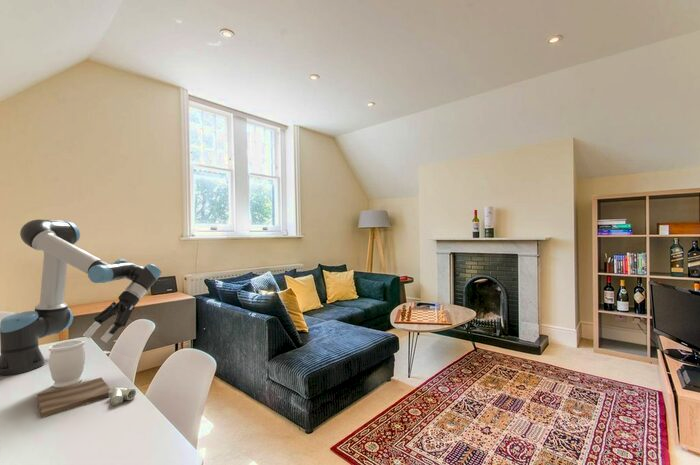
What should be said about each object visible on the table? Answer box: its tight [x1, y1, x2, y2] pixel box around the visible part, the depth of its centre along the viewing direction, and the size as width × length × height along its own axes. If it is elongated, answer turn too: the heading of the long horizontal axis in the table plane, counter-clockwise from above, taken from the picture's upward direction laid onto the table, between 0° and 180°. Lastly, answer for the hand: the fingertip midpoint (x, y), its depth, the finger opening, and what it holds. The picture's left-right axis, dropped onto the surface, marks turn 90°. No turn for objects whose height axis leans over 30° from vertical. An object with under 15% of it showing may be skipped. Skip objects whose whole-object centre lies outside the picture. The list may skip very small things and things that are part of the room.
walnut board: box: [36, 377, 111, 418], centre depth 115 cm, size 18×18×2 cm
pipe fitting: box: [108, 386, 137, 406], centre depth 112 cm, size 8×4×7 cm
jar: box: [48, 339, 86, 389], centre depth 127 cm, size 11×10×15 cm
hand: (94, 338), depth 134 cm, fingers open, 13 cm apart
